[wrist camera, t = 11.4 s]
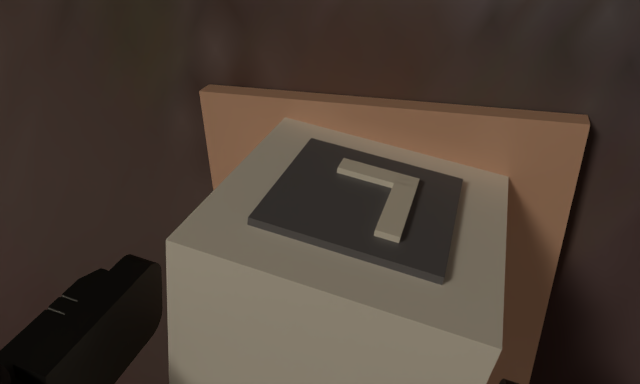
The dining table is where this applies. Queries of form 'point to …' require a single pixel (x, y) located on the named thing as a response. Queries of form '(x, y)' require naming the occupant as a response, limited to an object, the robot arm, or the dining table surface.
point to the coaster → (449, 144)
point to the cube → (339, 268)
